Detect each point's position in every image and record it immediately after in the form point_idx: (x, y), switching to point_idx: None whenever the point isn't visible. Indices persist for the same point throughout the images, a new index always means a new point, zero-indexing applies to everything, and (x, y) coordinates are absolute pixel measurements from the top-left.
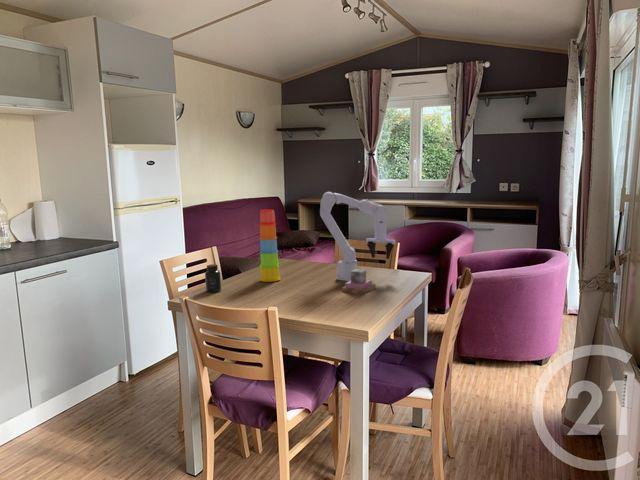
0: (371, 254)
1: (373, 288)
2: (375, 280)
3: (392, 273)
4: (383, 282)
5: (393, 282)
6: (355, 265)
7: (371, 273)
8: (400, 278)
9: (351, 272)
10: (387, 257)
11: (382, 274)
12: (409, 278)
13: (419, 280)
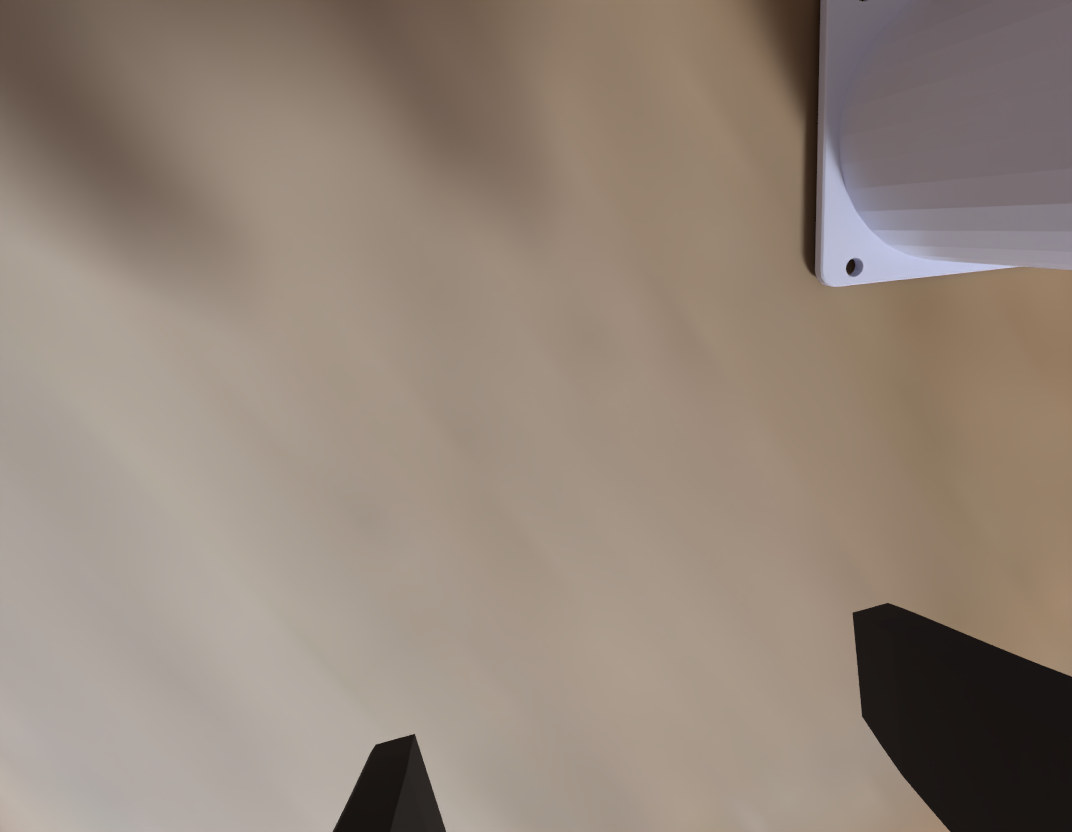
0: (971, 637)
1: None
2: (559, 356)
3: (601, 816)
4: (374, 337)
5: (247, 443)
6: (1051, 87)
7: (843, 637)
8: (331, 692)
9: None
10: (370, 772)
11: (683, 694)
12: (229, 773)
13: (31, 783)
